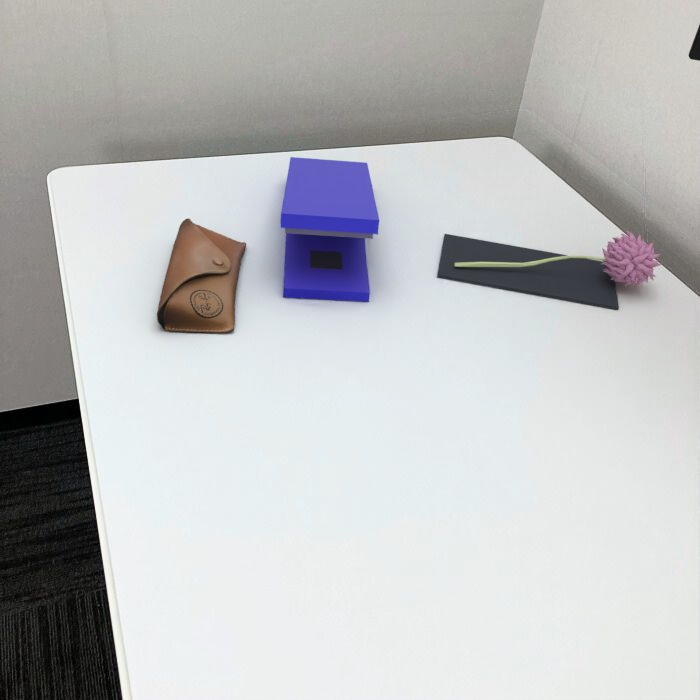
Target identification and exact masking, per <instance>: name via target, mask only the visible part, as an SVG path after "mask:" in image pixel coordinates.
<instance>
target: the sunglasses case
mask: <svg viewBox="0 0 700 700" xmlns="http://www.w3.org/2000/svg"><path fill="white" fill-rule="evenodd" d="M178 227H179V228H178V231H177V234H176V237H175V240H174V243H173V246H172V249H171V254H170V257H169V261H168V265H167V269H166V272H165V275H164V279H163V284H162V287H161V292H160V297H159V301H158V306H157V313H156V319H157V323H158V324H159V325H160V326H161V327H162V329H164V330H165V331H167V332H177V333H178V332H179V333H186V334H226V333H230V332H233V331H234V330H235V325H236V324H235V323H236V319H235V318H236V316H235V314H236V313H235V312H236V295H237V287H238V280H239V273H240V269H241V264H242V260H243V257H244V254H245V250H246V247H247V243H246V242H241V241H237V240H235V239H232V238H231V237H228V236H227V235H223V234H221V233H218V232H216V231H213V230H212V229H209V228H206V227H204V226H202V225H200V224H196V223H194V222H193V221H192V220H191V218H185V219H184V220H182V221H181V223H180V225H179V226H178Z"/></svg>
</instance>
